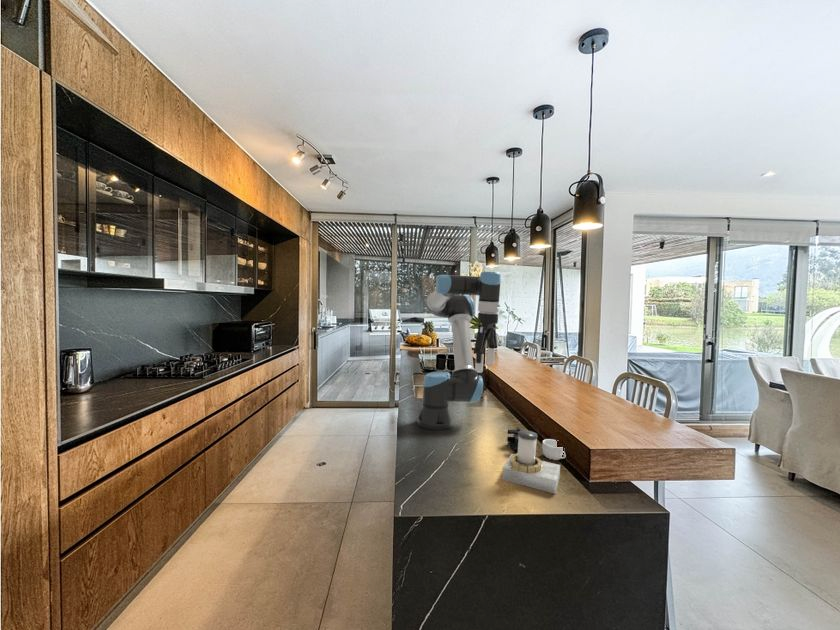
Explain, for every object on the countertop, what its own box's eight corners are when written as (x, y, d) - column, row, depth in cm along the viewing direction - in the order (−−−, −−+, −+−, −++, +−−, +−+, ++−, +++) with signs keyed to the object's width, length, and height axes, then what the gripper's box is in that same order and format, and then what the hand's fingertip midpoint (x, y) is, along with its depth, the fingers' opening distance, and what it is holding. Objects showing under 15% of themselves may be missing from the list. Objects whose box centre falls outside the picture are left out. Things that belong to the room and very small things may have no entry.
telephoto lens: (514, 465, 117) (516, 434, 116) (518, 458, 122) (520, 429, 122) (533, 470, 114) (536, 438, 114) (536, 462, 120) (538, 432, 119)
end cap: (533, 454, 136) (535, 436, 136) (515, 454, 135) (516, 436, 135) (523, 443, 146) (524, 427, 146) (506, 443, 145) (507, 427, 145)
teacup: (537, 454, 136) (538, 440, 136) (553, 452, 139) (554, 438, 139) (556, 466, 127) (557, 451, 127) (573, 463, 130) (574, 448, 130)
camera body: (502, 479, 116) (503, 462, 115) (510, 464, 126) (511, 449, 126) (555, 493, 109) (556, 476, 108) (559, 476, 119) (560, 460, 119)
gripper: (487, 315, 124) (483, 376, 126) (507, 311, 146) (503, 363, 148) (466, 314, 128) (463, 373, 130) (488, 310, 150) (485, 360, 152)
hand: (484, 367), depth 139 cm, fingers open, 13 cm apart
